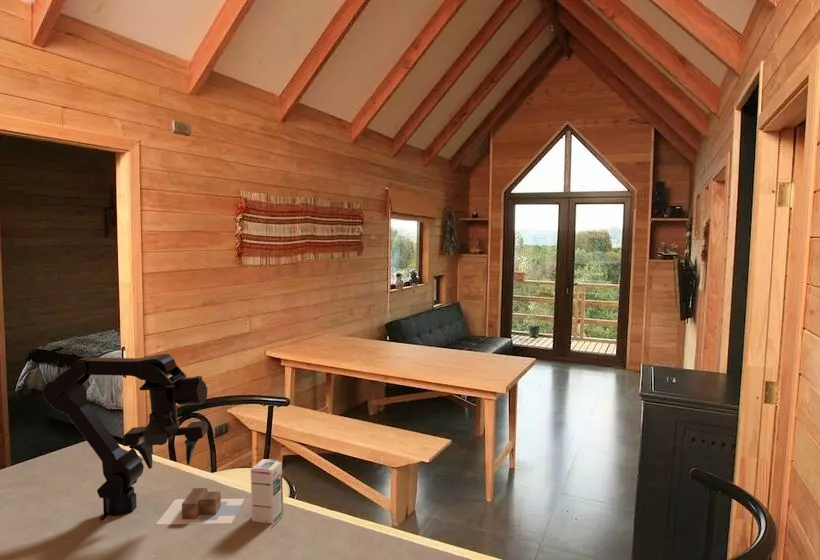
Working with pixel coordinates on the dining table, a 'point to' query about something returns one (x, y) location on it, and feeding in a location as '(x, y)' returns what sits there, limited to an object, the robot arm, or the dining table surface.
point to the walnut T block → (201, 503)
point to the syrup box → (267, 491)
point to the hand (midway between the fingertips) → (169, 466)
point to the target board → (223, 515)
